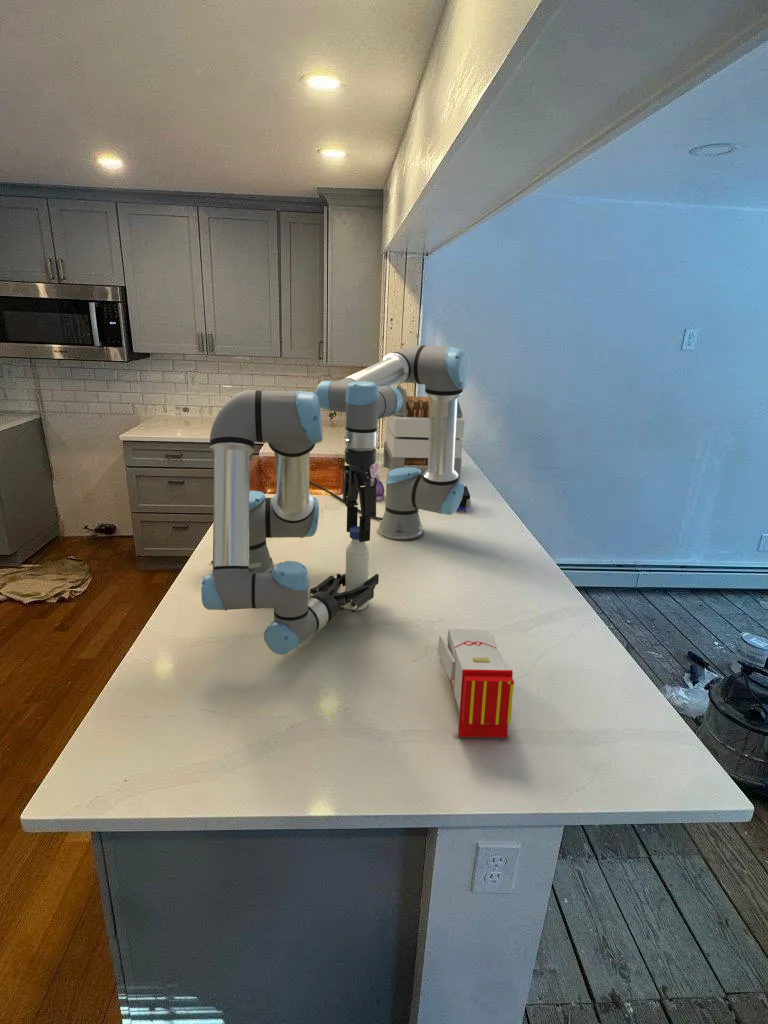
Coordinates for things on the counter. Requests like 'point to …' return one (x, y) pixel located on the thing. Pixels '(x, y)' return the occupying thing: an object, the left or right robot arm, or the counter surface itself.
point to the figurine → (379, 484)
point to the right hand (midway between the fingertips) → (358, 535)
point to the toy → (478, 682)
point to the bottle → (356, 566)
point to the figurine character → (465, 500)
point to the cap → (354, 532)
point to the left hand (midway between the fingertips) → (366, 575)
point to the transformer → (415, 434)
